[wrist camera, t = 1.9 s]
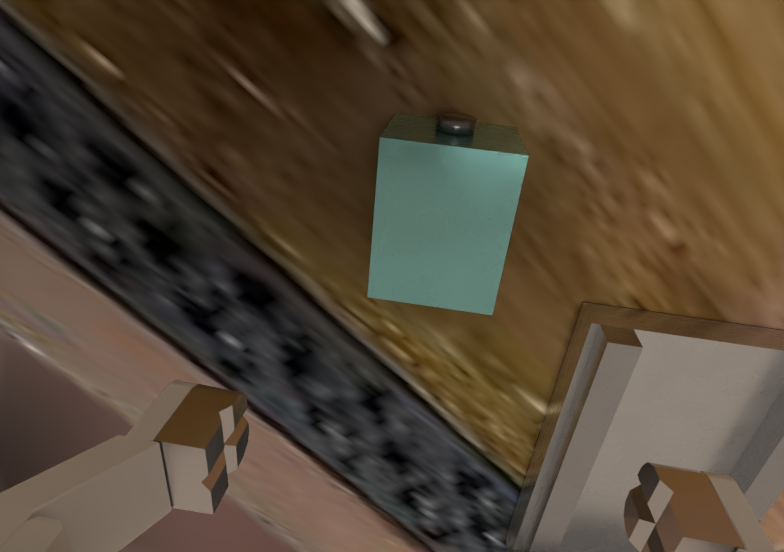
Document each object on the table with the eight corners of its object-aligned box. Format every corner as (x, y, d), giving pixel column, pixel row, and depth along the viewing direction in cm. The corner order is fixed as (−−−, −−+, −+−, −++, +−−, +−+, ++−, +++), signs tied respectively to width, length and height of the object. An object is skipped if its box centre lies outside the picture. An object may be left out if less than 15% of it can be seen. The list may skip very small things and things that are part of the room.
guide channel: (505, 536, 36) (513, 626, 30) (582, 301, 26) (613, 376, 21) (676, 565, 35) (714, 664, 29) (822, 335, 25) (917, 421, 20)
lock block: (383, 249, 26) (367, 297, 22) (397, 98, 22) (381, 121, 18) (487, 263, 26) (492, 315, 21) (518, 113, 22) (532, 138, 18)
